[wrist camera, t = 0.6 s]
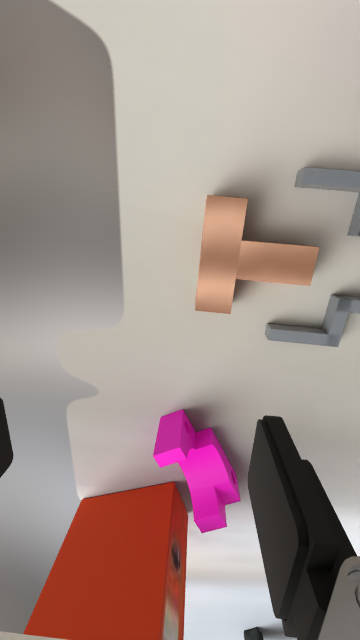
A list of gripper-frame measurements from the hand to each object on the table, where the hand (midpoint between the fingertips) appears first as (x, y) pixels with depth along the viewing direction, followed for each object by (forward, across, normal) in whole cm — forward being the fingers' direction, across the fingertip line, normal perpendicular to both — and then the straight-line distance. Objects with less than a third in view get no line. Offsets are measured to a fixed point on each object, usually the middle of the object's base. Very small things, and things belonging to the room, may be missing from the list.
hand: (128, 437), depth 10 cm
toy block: (+26, -5, +25) cm, 36 cm away
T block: (+25, -9, -5) cm, 27 cm away
